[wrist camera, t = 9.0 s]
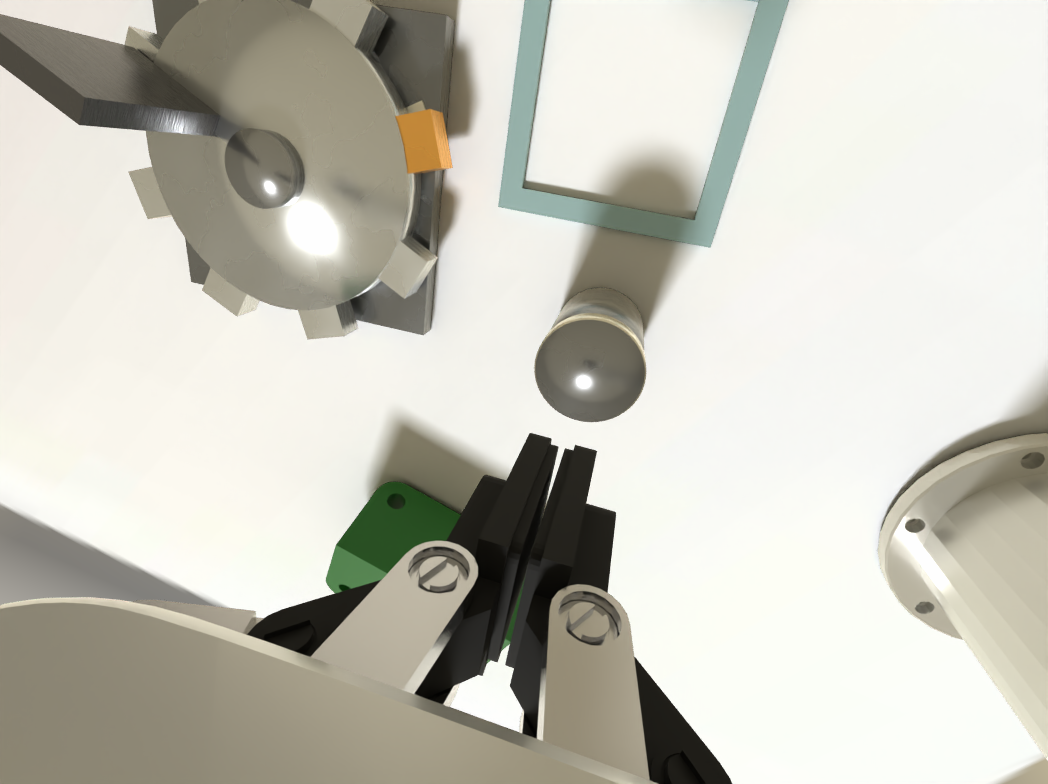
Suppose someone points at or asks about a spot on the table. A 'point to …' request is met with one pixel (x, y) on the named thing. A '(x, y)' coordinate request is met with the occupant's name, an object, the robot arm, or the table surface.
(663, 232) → the seat bay
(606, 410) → the silver metal cylinder
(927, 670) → the table surface
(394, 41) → the sprocket base
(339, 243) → the sprocket
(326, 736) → the robot arm
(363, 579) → the green mounting bracket
